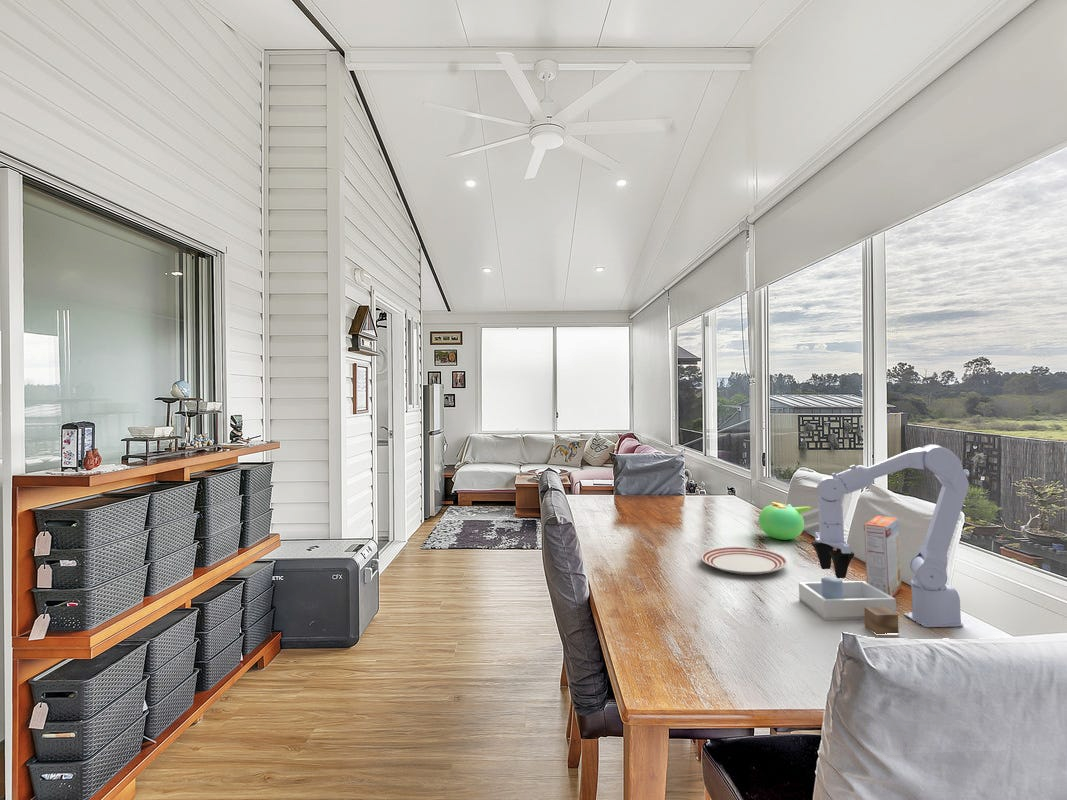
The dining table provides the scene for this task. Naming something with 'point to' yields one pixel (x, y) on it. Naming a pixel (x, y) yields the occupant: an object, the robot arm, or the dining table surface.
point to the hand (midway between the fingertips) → (833, 573)
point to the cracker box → (883, 554)
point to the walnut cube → (881, 620)
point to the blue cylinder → (832, 588)
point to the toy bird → (782, 520)
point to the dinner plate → (744, 560)
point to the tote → (844, 600)
